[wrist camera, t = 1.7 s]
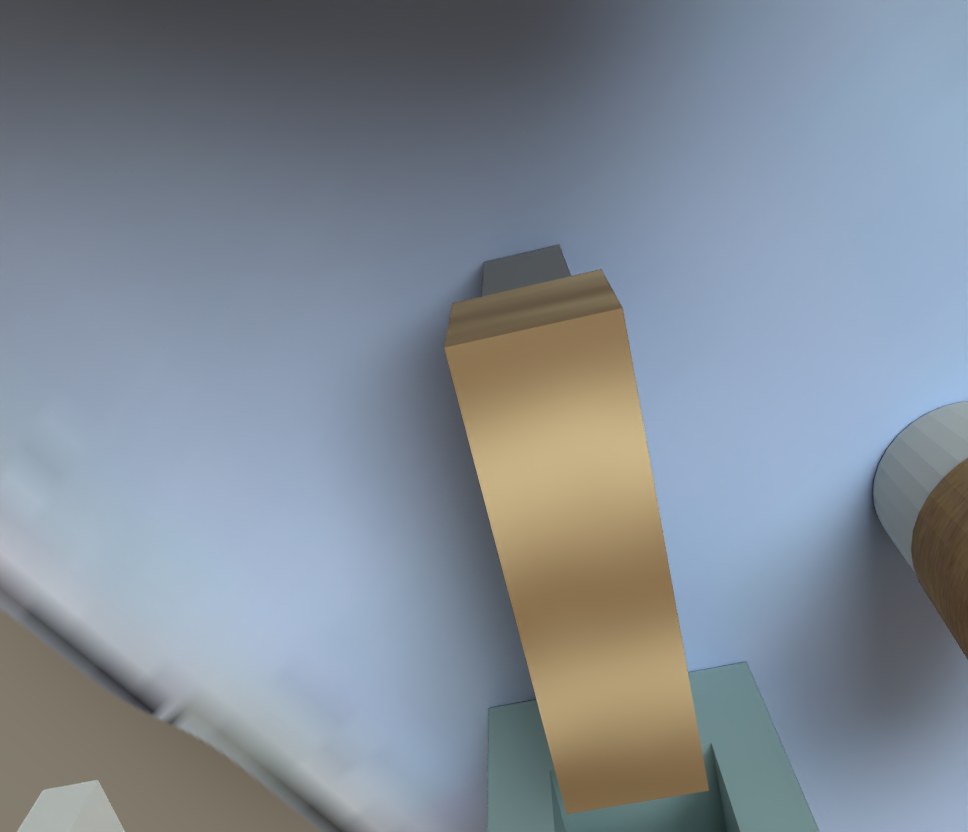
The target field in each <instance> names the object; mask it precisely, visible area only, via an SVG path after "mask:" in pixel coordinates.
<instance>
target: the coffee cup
mask: <svg viewBox="0 0 968 832" xmlns="http://www.w3.org/2000/svg"><path fill="white" fill-rule="evenodd" d="M873 497H874V505H875V510H876V512H877V515H878V517H879V520H880V522H881V524H882V526H883V527H884V529H885V530H886V532H887V533H888V535H889V536H890V538H891V539H892V541H893V542H894V544H895V545H896V546H897V548H898V549H899V551H900V552H901V554H902V555H903V557H904V558H905V560H906V561H907V562H908V564H909V565H910V567H911V568H912V570H913V571H914V573H915V574H916V576H917V578H918V581H919V583H920V584H921V586H922V587H923V589H924V591H925V592H926V594H927V595H928V597H929V599H930V600H931V602H932V603H933V605H934V607H935V608H936V610H937V611H938V613H939V614H940V616H941V618H942V619H943V621H944V622H945V624H946V626H947V627H948V629H949V630H950V632H951V634H952V635H953V637H954V638H955V640H956V641H957V643H958V645H959V646H960V648H961V649H962V651H963V653H964V654H965V656H966V657H967V659H968V401H963V402H958V403H954V404H950V405H946V406H943V407H940V408H938V409H936V410H933V411H931V412H929V413H926V414H925V415H923V416H922V417H920V418H919V419H917V420H916V421H914V422H912V423H911V424H910V425H909V426H908V427H907V428H905V429H904V430H903V431H902V432H901V433H900V434H899V435H898V436H897V437H896V438H895V440H894V441H893V442H892V443H891V445H890V446H889V447H888V448H887V450H886V452H885V454H884V455H883V457H882V459H881V461H880V463H879V465H878V469H877V472H876V475H875V479H874V490H873Z"/></svg>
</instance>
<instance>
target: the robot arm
mask: <svg viewBox="0 0 968 832" xmlns="http://www.w3.org/2000/svg"><path fill="white" fill-rule="evenodd" d="M17 832H125V831H124V829H123V827H122V825H121V823H120V821H119V819H118V817H117V816H116V814H115V812H114V810H113V808H112V806H111V804H110V802H109V800H108V798H107V796H106V794H105V793H104V791H103V789H102V787H101V785H100V783H99V781H98V780H94V781H89V782H84V783H78V784H73V785H67V786H61V787H56V788H50V789H45V790H43V791H42V792H41V794H40V796H39V797H38V799H37V800H36V802H35V804H34V805H33V807H32V808H31V810H30V812H29V813H28V815H27V816H26V818H25V819H24V821H23V823H22V824H21V826H20V827H19V829H18V830H17Z"/></svg>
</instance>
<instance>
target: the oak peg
mask: <svg viewBox="0 0 968 832" xmlns="http://www.w3.org/2000/svg"><path fill="white" fill-rule="evenodd" d="M444 349H445V353H446V357H447V361H448V365H449V368H450V372H451V376H452V380H453V384H454V387H455V391H456V395H457V399H458V403H459V407H460V410H461V414H462V418H463V422H464V426H465V429H466V433H467V437H468V441H469V445H470V448H471V452H472V456H473V460H474V464H475V467H476V471H477V475H478V479H479V483H480V487H481V490H482V494H483V498H484V502H485V506H486V509H487V513H488V517H489V521H490V525H491V528H492V532H493V536H494V540H495V544H496V548H497V551H498V555H499V559H500V563H501V567H502V570H503V574H504V578H505V582H506V586H507V589H508V593H509V597H510V601H511V605H512V608H513V612H514V616H515V620H516V624H517V628H518V631H519V635H520V639H521V643H522V647H523V650H524V654H525V658H526V662H527V666H528V669H529V673H530V677H531V681H532V685H533V688H534V692H535V696H536V700H537V704H538V708H539V711H540V715H541V719H542V723H543V727H544V730H545V734H546V738H547V742H548V746H549V749H550V753H551V757H552V761H553V765H554V768H555V772H556V776H557V780H558V784H559V788H560V791H561V795H562V799H563V803H564V807H565V810H566V814H572V813H578V812H584V811H590V810H596V809H602V808H608V807H614V806H620V805H626V804H632V803H638V802H644V801H650V800H656V799H662V798H668V797H674V796H680V795H686V794H692V793H698V792H704V791H709V787H708V782H707V776H706V771H705V765H704V759H703V754H702V748H701V743H700V737H699V732H698V726H697V720H696V715H695V709H694V704H693V698H692V692H691V687H690V681H689V676H688V670H687V665H686V659H685V653H684V648H683V642H682V637H681V631H680V626H679V620H678V614H677V609H676V603H675V598H674V592H673V586H672V581H671V575H670V570H669V564H668V559H667V553H666V547H665V542H664V536H663V531H662V525H661V519H660V514H659V508H658V503H657V497H656V492H655V486H654V480H653V475H652V469H651V464H650V458H649V453H648V447H647V441H646V436H645V430H644V425H643V419H642V413H641V408H640V402H639V397H638V391H637V386H636V380H635V374H634V369H633V363H632V358H631V352H630V346H629V341H628V335H627V330H626V324H625V319H624V313H623V308H622V306H621V304H620V302H619V301H618V299H617V297H616V295H615V293H614V292H613V290H612V288H611V286H610V284H609V282H608V281H607V279H606V277H605V275H604V273H603V272H602V270H601V269H600V270H596V271H592V272H587V273H583V274H578V275H574V276H570V277H565V278H561V279H556V280H552V281H548V282H543V283H539V284H534V285H530V286H526V287H521V288H517V289H513V290H508V291H504V292H499V293H495V294H491V295H486V296H482V297H477V298H473V299H469V300H464V301H460V302H455V303H452V308H451V313H450V319H449V324H448V329H447V335H446V340H445V345H444Z"/></svg>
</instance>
